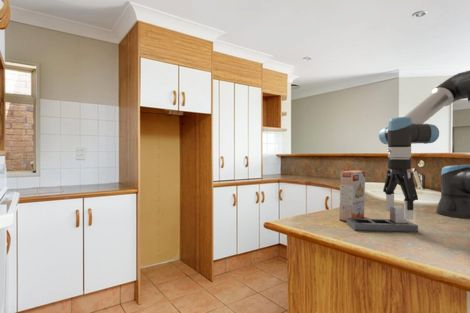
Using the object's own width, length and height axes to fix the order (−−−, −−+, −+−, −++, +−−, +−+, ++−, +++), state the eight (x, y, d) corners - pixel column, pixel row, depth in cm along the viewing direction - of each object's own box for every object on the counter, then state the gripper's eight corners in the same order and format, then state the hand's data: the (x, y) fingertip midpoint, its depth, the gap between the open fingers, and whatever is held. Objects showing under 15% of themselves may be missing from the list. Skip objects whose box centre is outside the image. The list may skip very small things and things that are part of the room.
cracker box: (353, 223, 111) (353, 172, 110) (338, 220, 115) (339, 171, 115) (365, 217, 121) (365, 170, 120) (351, 215, 125) (352, 169, 125)
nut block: (400, 226, 104) (400, 205, 104) (406, 229, 100) (406, 207, 100) (389, 226, 105) (390, 205, 105) (395, 229, 101) (395, 207, 101)
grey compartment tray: (404, 225, 107) (404, 219, 107) (417, 232, 98) (417, 225, 98) (346, 224, 108) (346, 218, 108) (354, 230, 100) (354, 223, 99)
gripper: (374, 158, 115) (374, 207, 115) (406, 159, 90) (406, 222, 90) (393, 158, 114) (392, 208, 115) (430, 159, 89) (429, 223, 90)
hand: (398, 214), depth 102 cm, fingers open, 13 cm apart
